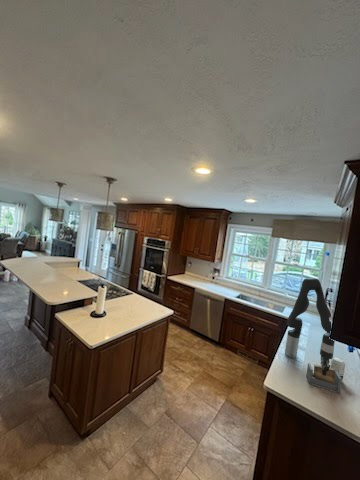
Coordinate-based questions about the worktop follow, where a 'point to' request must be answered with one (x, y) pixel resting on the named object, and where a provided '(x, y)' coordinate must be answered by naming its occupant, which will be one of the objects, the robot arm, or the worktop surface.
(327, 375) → the door panel
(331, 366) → the supplement can
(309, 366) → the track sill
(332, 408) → the worktop surface
